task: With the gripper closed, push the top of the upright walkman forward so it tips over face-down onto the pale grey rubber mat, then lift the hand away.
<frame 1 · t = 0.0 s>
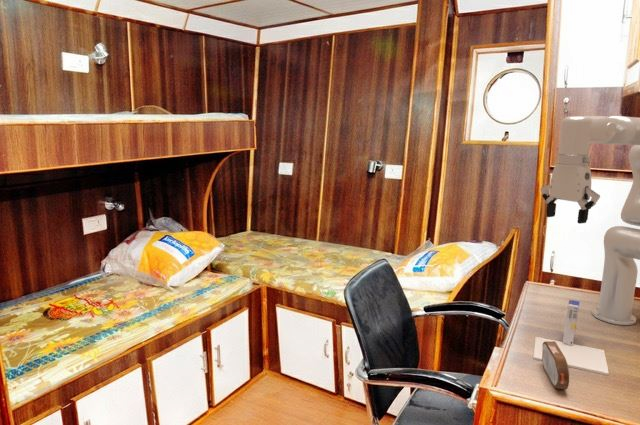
hand: (565, 219, 133), 37 cm above the table, tool pointing down, fingers open, 9 cm apart
tin: (552, 379, 118), on the table
mat: (569, 355, 130), on the table
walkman: (568, 341, 138), on the table
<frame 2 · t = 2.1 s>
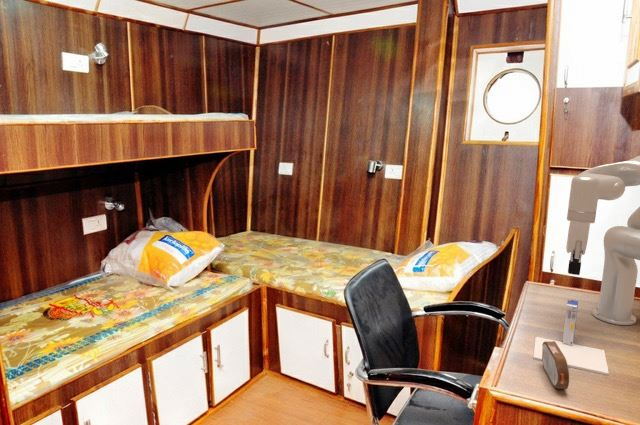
hand: (573, 273, 143), 19 cm above the table, tool pointing down, fingers closed
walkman: (568, 341, 138), on the table, touching mat
everything else where it was.
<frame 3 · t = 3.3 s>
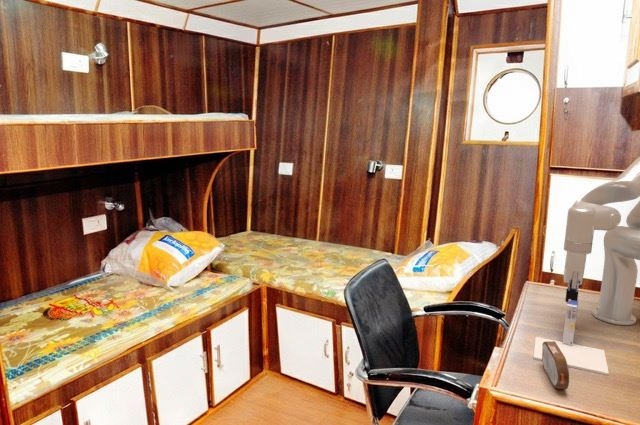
hand: (571, 302, 145), 9 cm above the table, tool pointing down, fingers closed
nothing on the table moved.
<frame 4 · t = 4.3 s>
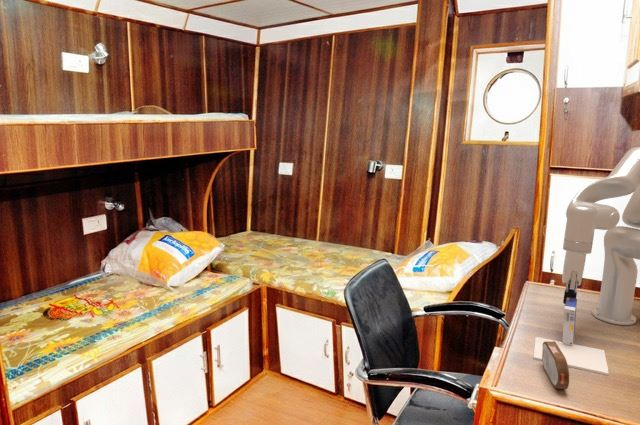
hand: (569, 303, 140), 10 cm above the table, tool pointing down, fingers closed
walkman: (568, 338, 138), point 1 cm above the table, touching mat
everything else where it was.
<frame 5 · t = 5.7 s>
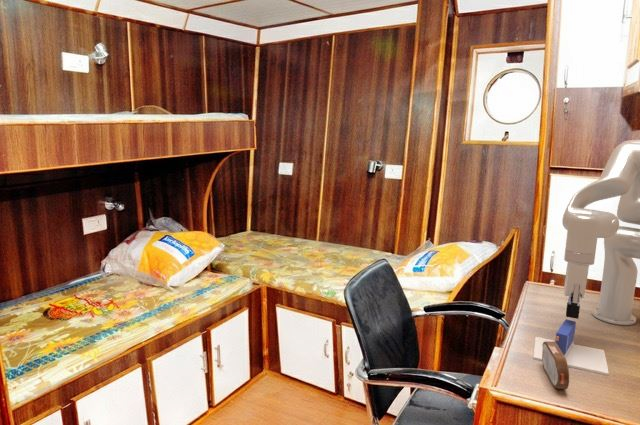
hand: (572, 316, 134), 9 cm above the table, tool pointing down, fingers closed
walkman: (569, 332, 134), point 5 cm above the table, touching mat
everything else where it was.
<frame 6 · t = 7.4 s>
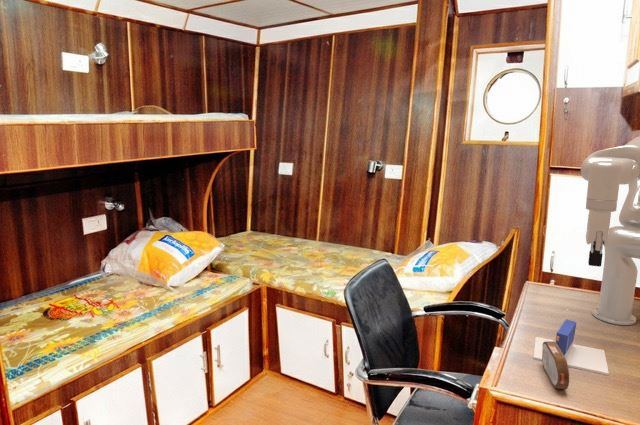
hand: (594, 265, 134), 24 cm above the table, tool pointing down, fingers closed
nothing on the table moved.
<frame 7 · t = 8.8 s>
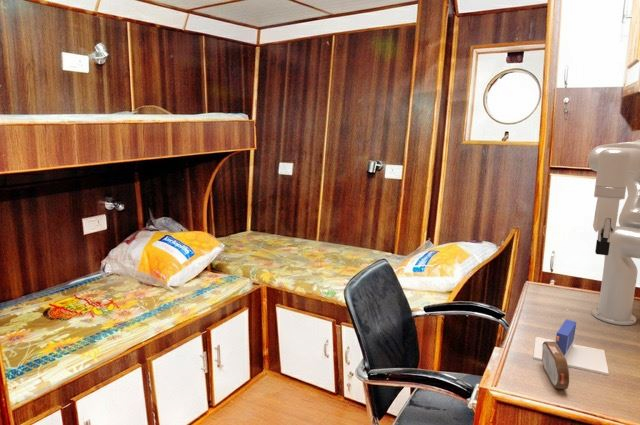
hand: (601, 253, 134), 27 cm above the table, tool pointing down, fingers closed
nothing on the table moved.
at the end: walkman tilted 90°; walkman touching mat; the gripper is holding nothing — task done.
